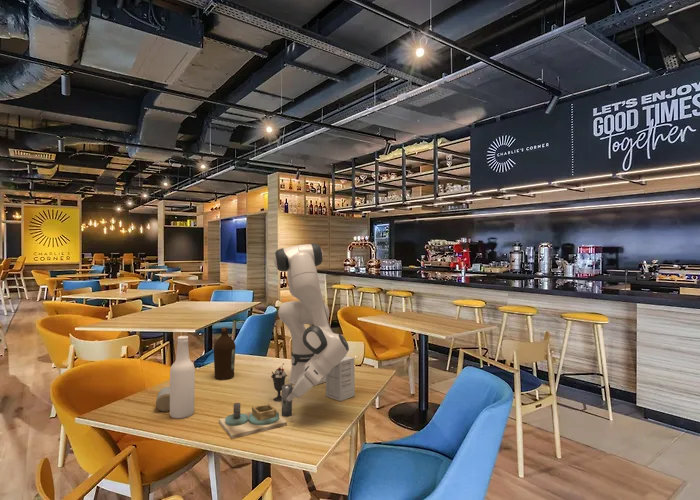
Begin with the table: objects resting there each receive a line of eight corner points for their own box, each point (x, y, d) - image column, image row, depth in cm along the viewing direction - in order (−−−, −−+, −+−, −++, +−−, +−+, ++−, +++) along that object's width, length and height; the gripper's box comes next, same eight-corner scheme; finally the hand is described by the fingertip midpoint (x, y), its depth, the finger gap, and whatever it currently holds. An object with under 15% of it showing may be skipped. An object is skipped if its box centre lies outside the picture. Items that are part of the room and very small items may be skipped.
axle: (289, 411, 155) (289, 383, 155) (293, 415, 152) (293, 386, 152) (279, 414, 153) (280, 385, 153) (284, 417, 150) (284, 388, 150)
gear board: (270, 410, 156) (270, 392, 156) (286, 425, 143) (286, 404, 143) (218, 422, 145) (218, 402, 145) (231, 439, 132) (231, 416, 132)
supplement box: (355, 396, 173) (355, 357, 173) (340, 401, 166) (340, 361, 166) (339, 391, 179) (339, 354, 180) (325, 396, 173) (325, 357, 173)
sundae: (289, 397, 171) (289, 362, 171) (282, 402, 165) (282, 366, 165) (276, 395, 173) (276, 361, 173) (268, 401, 167) (268, 365, 167)
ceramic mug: (155, 413, 153) (155, 393, 153) (157, 406, 161) (157, 387, 161) (184, 410, 157) (185, 391, 157) (185, 403, 164) (186, 384, 165)
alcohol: (178, 421, 146) (179, 339, 147) (164, 416, 151) (165, 337, 151) (199, 413, 154) (199, 335, 154) (185, 408, 158) (185, 333, 159)
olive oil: (212, 381, 193) (212, 330, 194) (214, 374, 204) (215, 326, 204) (234, 379, 196) (234, 329, 196) (235, 373, 206) (236, 325, 206)
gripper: (313, 357, 163) (289, 381, 163) (306, 371, 142) (279, 398, 142) (323, 368, 163) (300, 392, 163) (318, 384, 142) (291, 411, 142)
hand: (290, 395), depth 152 cm, fingers open, 8 cm apart
